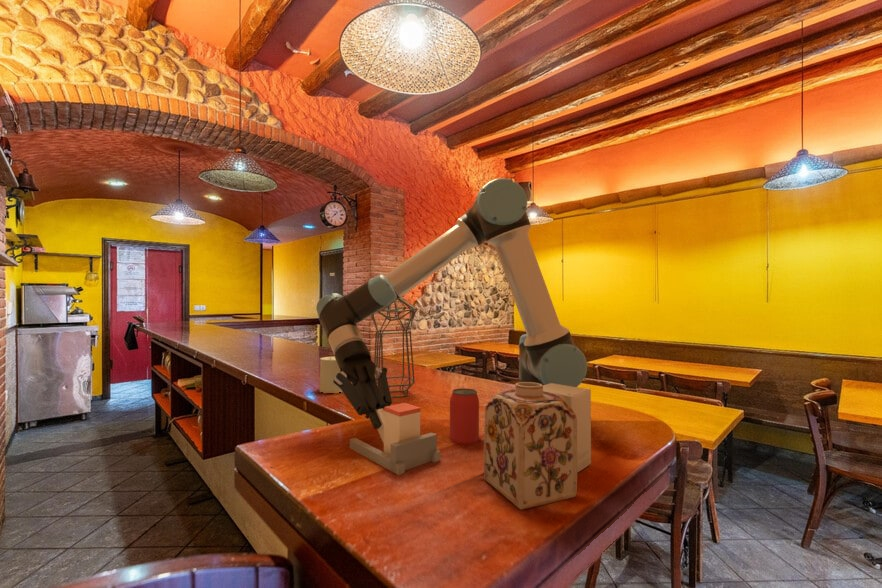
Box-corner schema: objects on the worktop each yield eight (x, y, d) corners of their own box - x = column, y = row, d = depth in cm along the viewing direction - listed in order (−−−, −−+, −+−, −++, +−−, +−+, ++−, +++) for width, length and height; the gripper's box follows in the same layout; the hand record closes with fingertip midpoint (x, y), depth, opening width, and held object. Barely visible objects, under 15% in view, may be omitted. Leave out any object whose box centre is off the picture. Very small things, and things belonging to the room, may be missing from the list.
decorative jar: (519, 512, 60) (520, 393, 60) (481, 480, 71) (482, 379, 71) (580, 497, 65) (580, 387, 65) (536, 469, 75) (536, 375, 76)
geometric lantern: (420, 399, 129) (419, 292, 129) (372, 403, 125) (371, 293, 125) (411, 388, 144) (410, 292, 144) (368, 391, 140) (367, 293, 140)
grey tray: (343, 455, 81) (343, 425, 81) (391, 442, 89) (391, 414, 89) (401, 490, 66) (402, 453, 66) (453, 470, 74) (453, 437, 74)
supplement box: (592, 464, 78) (593, 388, 78) (571, 478, 72) (572, 396, 72) (551, 451, 84) (551, 381, 85) (528, 463, 78) (529, 387, 78)
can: (314, 393, 136) (315, 358, 136) (326, 387, 145) (327, 354, 145) (339, 394, 134) (340, 359, 135) (350, 388, 143) (350, 355, 144)
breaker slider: (383, 457, 76) (384, 406, 77) (404, 451, 80) (404, 402, 80) (398, 465, 73) (399, 412, 73) (419, 458, 76) (420, 407, 76)
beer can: (477, 451, 84) (477, 395, 84) (446, 448, 85) (447, 393, 86) (480, 441, 91) (480, 388, 91) (452, 438, 92) (452, 387, 92)
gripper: (367, 356, 98) (407, 442, 85) (318, 361, 89) (354, 458, 76) (379, 337, 94) (423, 423, 81) (329, 340, 85) (369, 437, 73)
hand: (389, 440), depth 79 cm, fingers closed
